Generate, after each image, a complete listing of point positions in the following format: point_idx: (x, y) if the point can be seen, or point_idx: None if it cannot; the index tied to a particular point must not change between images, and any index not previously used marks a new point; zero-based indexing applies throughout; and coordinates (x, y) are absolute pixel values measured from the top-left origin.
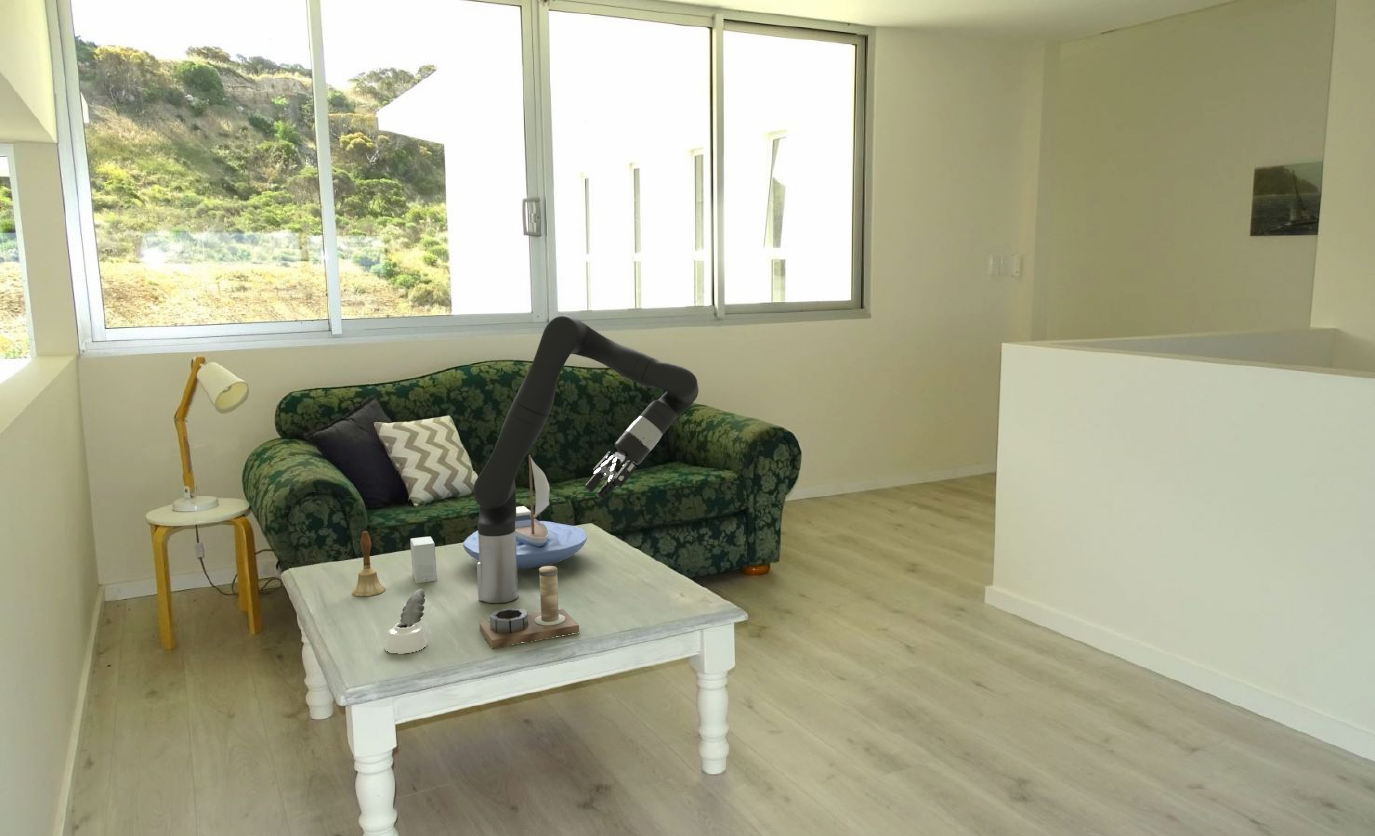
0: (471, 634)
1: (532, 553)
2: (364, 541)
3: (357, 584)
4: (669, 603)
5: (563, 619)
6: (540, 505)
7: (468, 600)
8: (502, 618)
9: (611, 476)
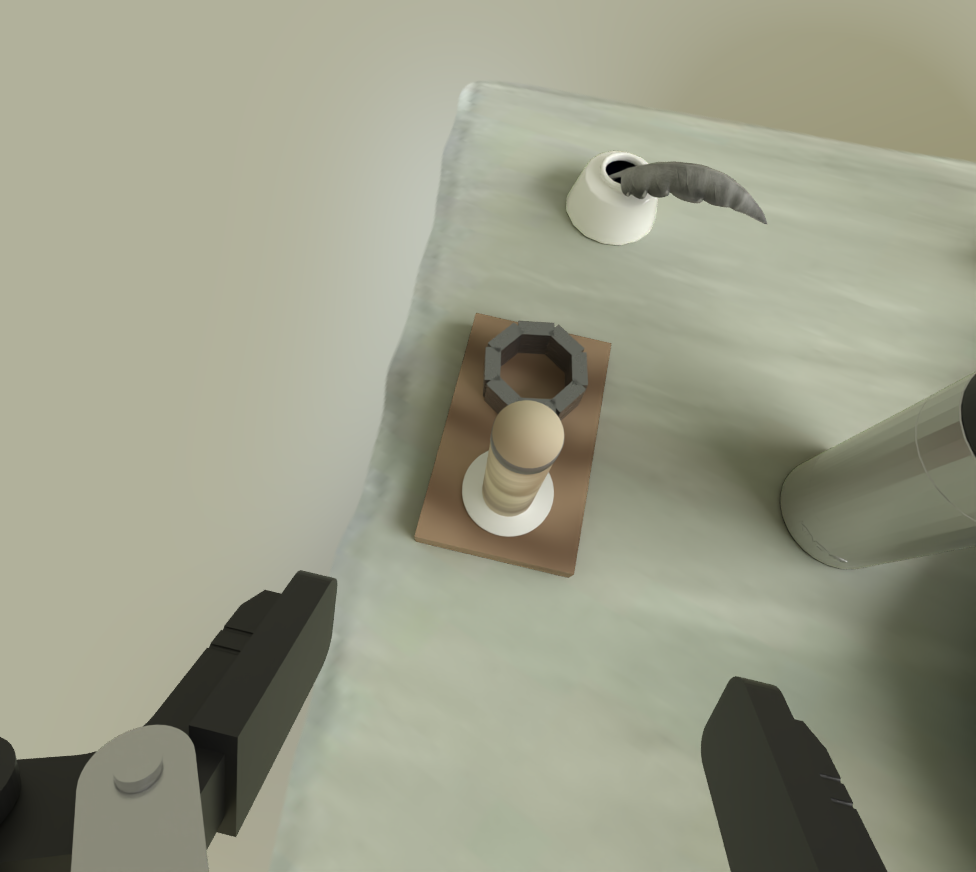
0: (595, 332)
1: None
2: None
3: None
4: None
5: (477, 518)
6: None
7: (853, 434)
8: (567, 373)
9: (114, 841)
